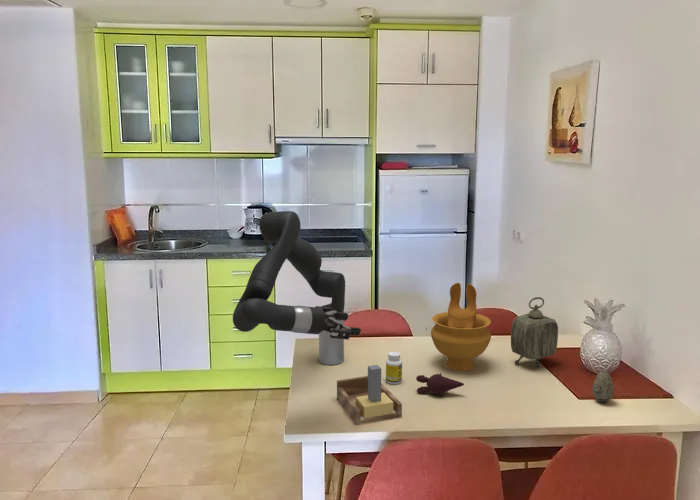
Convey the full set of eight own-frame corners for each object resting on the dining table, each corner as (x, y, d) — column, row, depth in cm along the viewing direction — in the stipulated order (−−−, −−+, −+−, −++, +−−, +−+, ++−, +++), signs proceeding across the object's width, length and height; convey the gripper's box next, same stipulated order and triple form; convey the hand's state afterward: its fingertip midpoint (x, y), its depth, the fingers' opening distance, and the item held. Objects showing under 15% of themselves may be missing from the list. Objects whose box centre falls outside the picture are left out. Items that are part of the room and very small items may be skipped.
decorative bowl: (423, 371, 199) (425, 288, 193) (437, 351, 218) (439, 275, 213) (484, 380, 191) (488, 294, 186) (493, 358, 210) (497, 279, 205)
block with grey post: (355, 408, 169) (355, 365, 166) (383, 403, 172) (384, 361, 169) (364, 418, 162) (364, 373, 160) (393, 413, 165) (393, 369, 163)
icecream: (463, 371, 183) (416, 371, 186) (463, 374, 176) (414, 375, 178) (464, 393, 182) (417, 393, 185) (464, 397, 175) (415, 397, 178)
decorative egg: (611, 407, 171) (613, 376, 169) (590, 403, 174) (592, 372, 172) (614, 400, 176) (616, 369, 174) (593, 395, 179) (595, 365, 177)
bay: (337, 398, 178) (336, 380, 177) (378, 391, 183) (378, 374, 181) (356, 424, 161) (356, 404, 160) (401, 416, 166) (402, 397, 165)
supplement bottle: (400, 385, 188) (401, 357, 186) (384, 384, 189) (384, 356, 187) (402, 378, 193) (403, 351, 191) (386, 377, 194) (387, 350, 192)
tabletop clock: (539, 357, 211) (543, 292, 207) (558, 365, 203) (562, 298, 199) (509, 364, 205) (512, 296, 201) (527, 372, 197) (530, 303, 193)
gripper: (318, 321, 152) (368, 325, 160) (299, 295, 163) (347, 301, 172) (309, 345, 154) (359, 348, 162) (291, 318, 165) (339, 322, 174)
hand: (353, 324), depth 167 cm, fingers open, 8 cm apart
